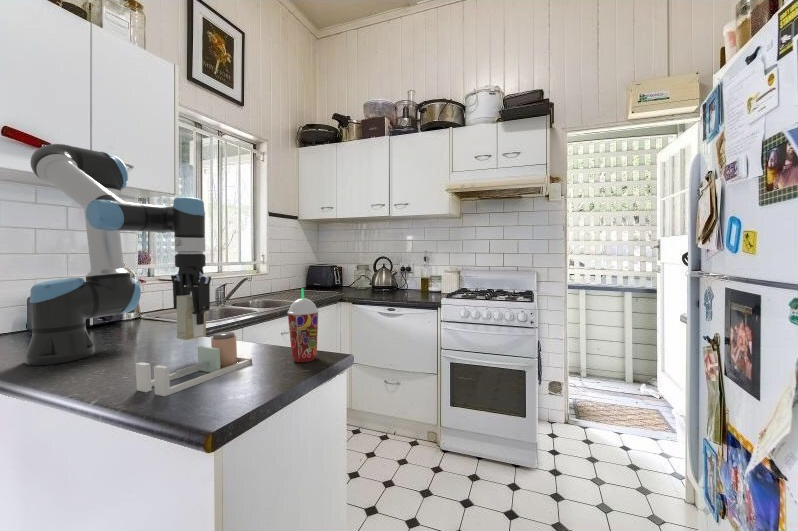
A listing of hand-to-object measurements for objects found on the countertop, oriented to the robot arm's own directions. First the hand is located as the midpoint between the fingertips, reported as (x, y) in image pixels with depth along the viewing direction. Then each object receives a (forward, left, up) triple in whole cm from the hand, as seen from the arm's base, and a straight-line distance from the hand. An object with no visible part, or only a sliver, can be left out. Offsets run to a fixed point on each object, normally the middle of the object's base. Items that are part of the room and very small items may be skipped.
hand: (192, 334), depth 105 cm
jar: (+15, -2, -7) cm, 16 cm away
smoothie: (+31, +11, -7) cm, 33 cm away
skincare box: (0, 0, -1) cm, 1 cm away
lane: (+15, -9, -7) cm, 19 cm away
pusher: (+15, -11, -7) cm, 19 cm away
